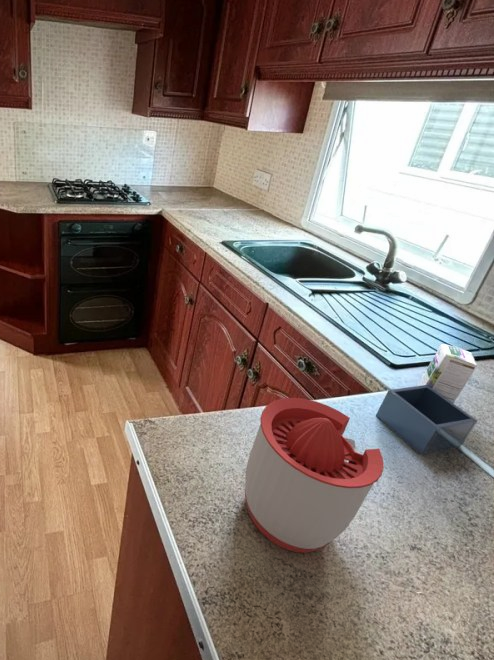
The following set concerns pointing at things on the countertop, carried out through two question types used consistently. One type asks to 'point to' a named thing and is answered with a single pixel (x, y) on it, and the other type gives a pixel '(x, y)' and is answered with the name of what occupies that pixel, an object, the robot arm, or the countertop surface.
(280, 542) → the citrus juicer
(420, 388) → the box
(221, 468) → the countertop surface
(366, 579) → the countertop surface
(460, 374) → the syrup box
